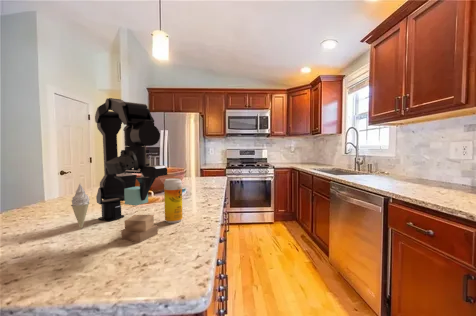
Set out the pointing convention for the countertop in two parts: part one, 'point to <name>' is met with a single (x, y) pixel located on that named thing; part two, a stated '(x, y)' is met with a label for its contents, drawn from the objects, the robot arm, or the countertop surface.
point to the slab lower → (139, 234)
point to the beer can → (173, 200)
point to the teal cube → (134, 196)
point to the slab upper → (139, 223)
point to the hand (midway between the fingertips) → (136, 199)
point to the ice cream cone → (80, 205)
